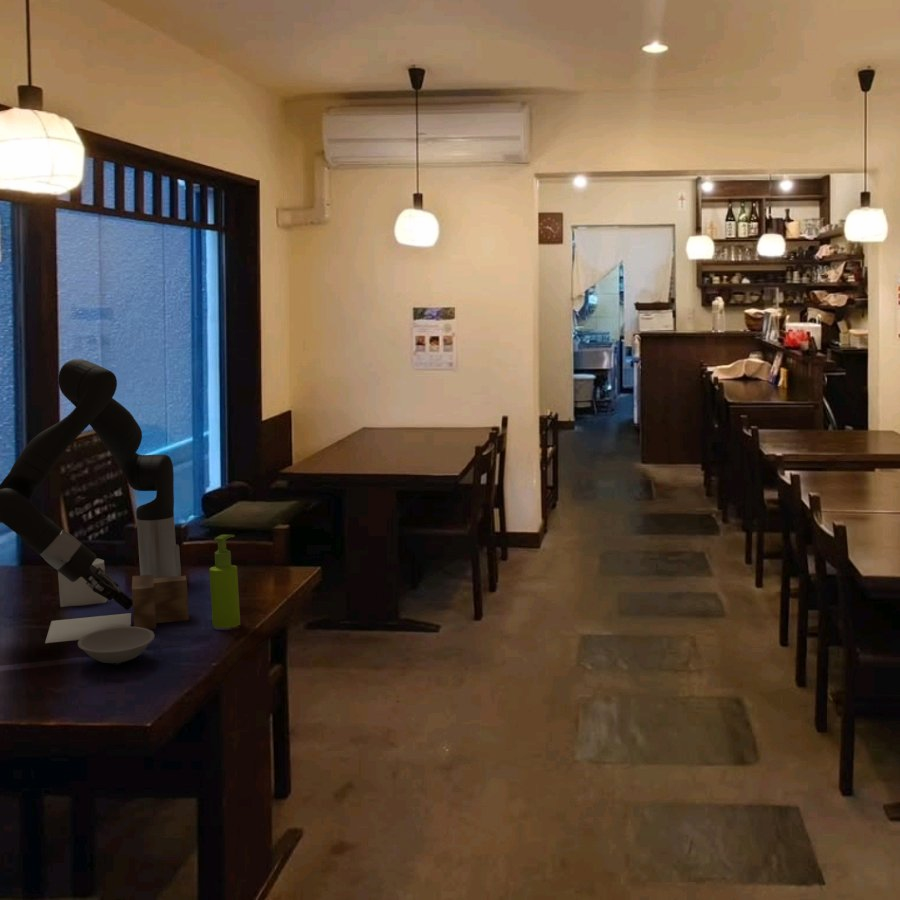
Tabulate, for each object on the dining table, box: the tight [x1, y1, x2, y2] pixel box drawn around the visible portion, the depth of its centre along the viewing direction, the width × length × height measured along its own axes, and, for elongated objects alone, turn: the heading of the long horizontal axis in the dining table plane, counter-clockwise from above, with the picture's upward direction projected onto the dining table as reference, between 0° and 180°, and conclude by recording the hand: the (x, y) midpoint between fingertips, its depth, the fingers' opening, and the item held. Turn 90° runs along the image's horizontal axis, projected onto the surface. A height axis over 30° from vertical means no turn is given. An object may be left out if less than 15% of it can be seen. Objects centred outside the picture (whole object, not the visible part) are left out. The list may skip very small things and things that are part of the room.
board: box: [44, 612, 132, 644], centre depth 236 cm, size 30×18×1 cm, turn 106°
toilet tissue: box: [57, 558, 108, 608], centre depth 259 cm, size 11×12×10 cm
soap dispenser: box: [209, 534, 241, 628], centre depth 235 cm, size 6×7×20 cm
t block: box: [131, 574, 190, 630], centre depth 238 cm, size 12×13×9 cm
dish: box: [77, 625, 156, 664], centre depth 211 cm, size 18×14×5 cm
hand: (130, 606), depth 236 cm, fingers closed
